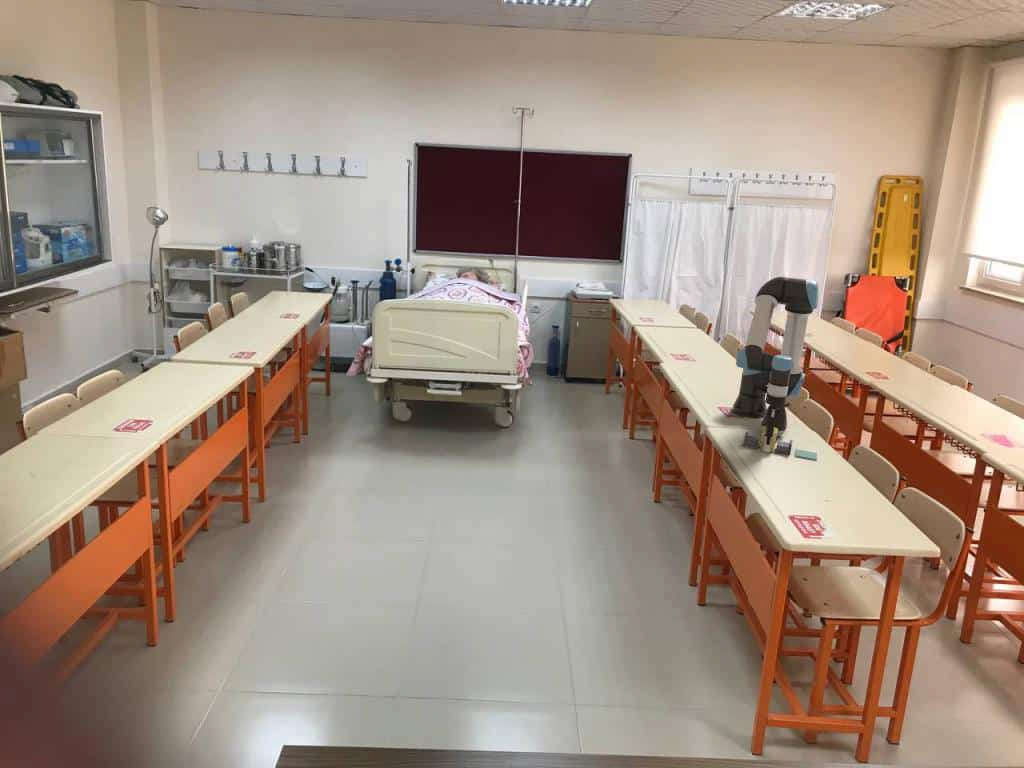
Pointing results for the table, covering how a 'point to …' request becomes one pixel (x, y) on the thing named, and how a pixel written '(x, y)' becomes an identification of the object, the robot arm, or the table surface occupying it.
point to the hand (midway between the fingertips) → (767, 447)
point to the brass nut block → (772, 439)
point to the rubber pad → (806, 454)
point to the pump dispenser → (781, 419)
